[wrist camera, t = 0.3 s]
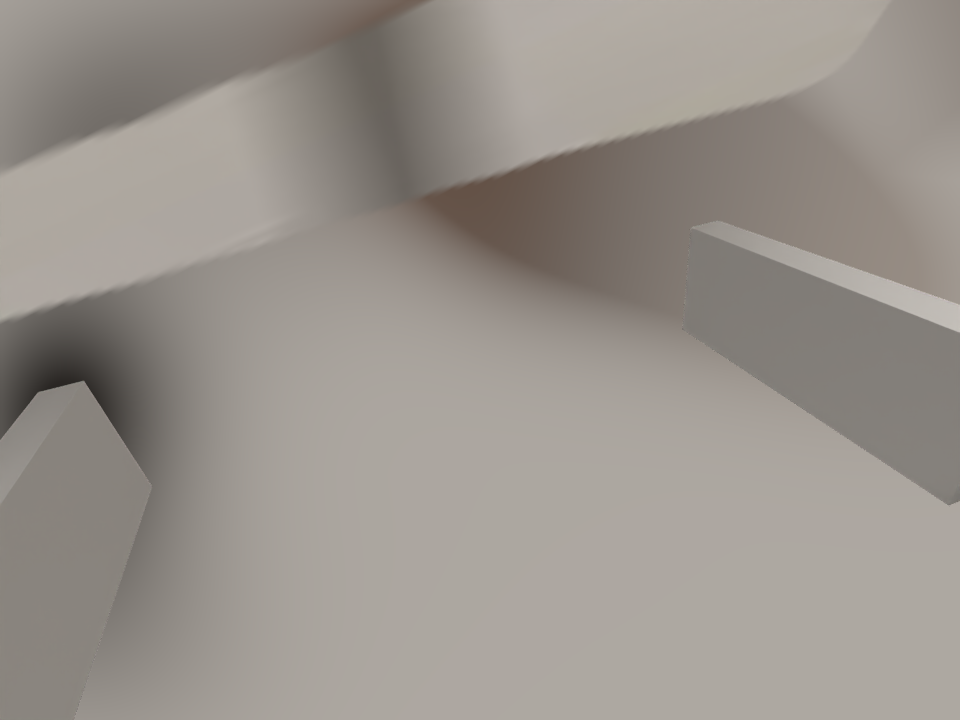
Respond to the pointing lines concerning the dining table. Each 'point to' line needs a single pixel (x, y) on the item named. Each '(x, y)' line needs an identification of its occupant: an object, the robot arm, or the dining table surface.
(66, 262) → the dining table surface
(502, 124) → the dining table surface
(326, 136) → the dining table surface
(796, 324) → the robot arm
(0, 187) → the dining table surface
